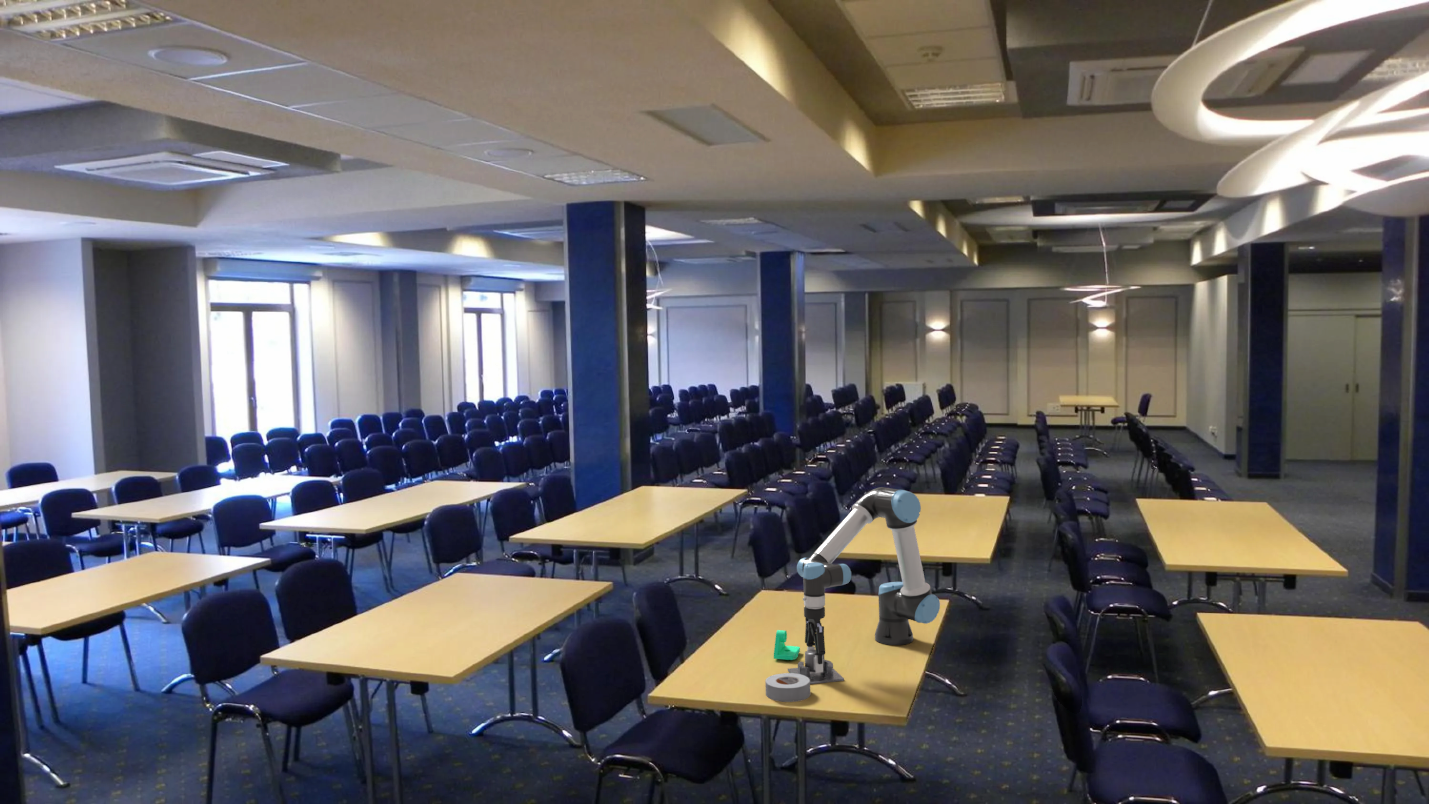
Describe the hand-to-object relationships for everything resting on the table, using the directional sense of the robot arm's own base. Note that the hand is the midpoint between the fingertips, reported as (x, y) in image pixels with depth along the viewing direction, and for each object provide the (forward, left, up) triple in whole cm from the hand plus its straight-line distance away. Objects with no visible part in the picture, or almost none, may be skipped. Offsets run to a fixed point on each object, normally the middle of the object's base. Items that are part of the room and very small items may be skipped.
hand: (815, 668), depth 361 cm
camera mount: (+3, -24, -3) cm, 24 cm away
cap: (0, 0, 0) cm, 0 cm away
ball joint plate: (0, 0, -3) cm, 3 cm away
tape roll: (+15, +15, -3) cm, 21 cm away
